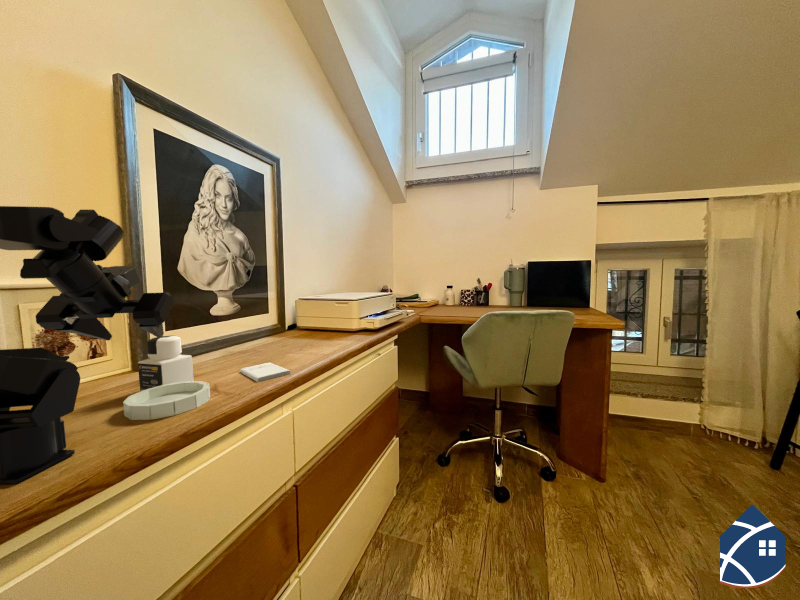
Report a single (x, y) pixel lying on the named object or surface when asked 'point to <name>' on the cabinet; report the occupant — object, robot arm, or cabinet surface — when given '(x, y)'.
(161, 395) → the pale green round tray
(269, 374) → the external hard drive
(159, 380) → the medicine bottle
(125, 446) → the cabinet surface
